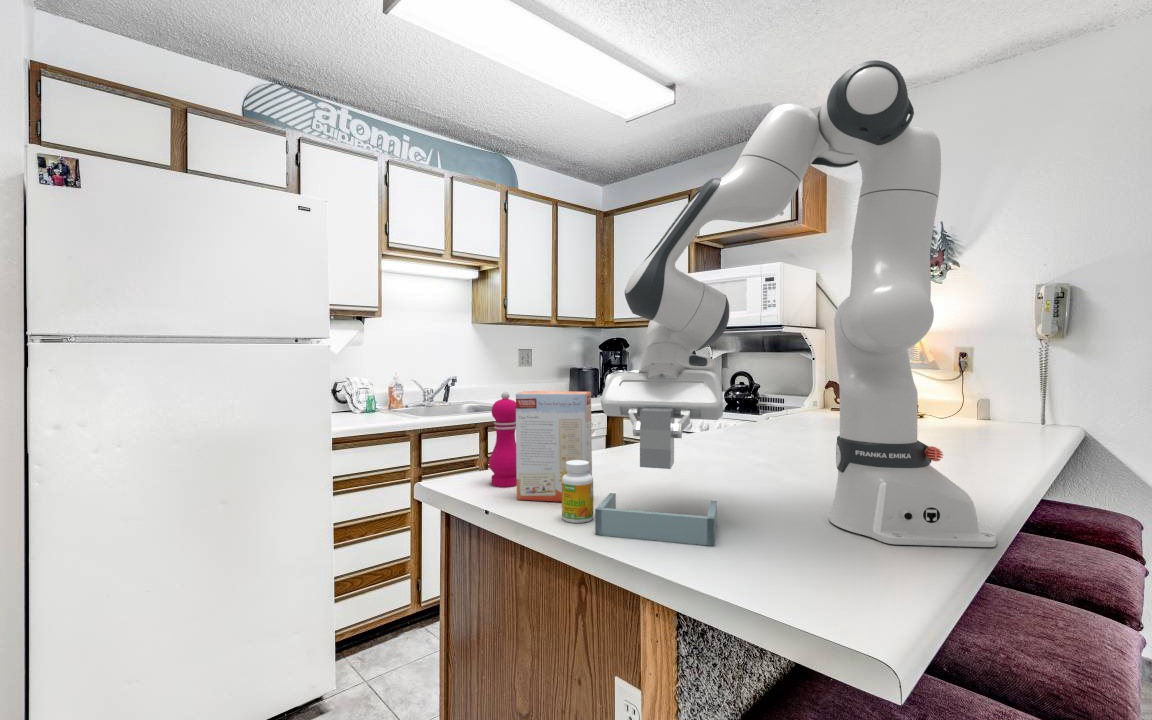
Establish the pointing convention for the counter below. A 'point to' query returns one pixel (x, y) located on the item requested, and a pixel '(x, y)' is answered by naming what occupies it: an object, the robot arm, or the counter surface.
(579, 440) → the cracker box
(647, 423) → the tile stack
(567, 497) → the supplement bottle
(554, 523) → the counter surface
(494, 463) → the pepper mill
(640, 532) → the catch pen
